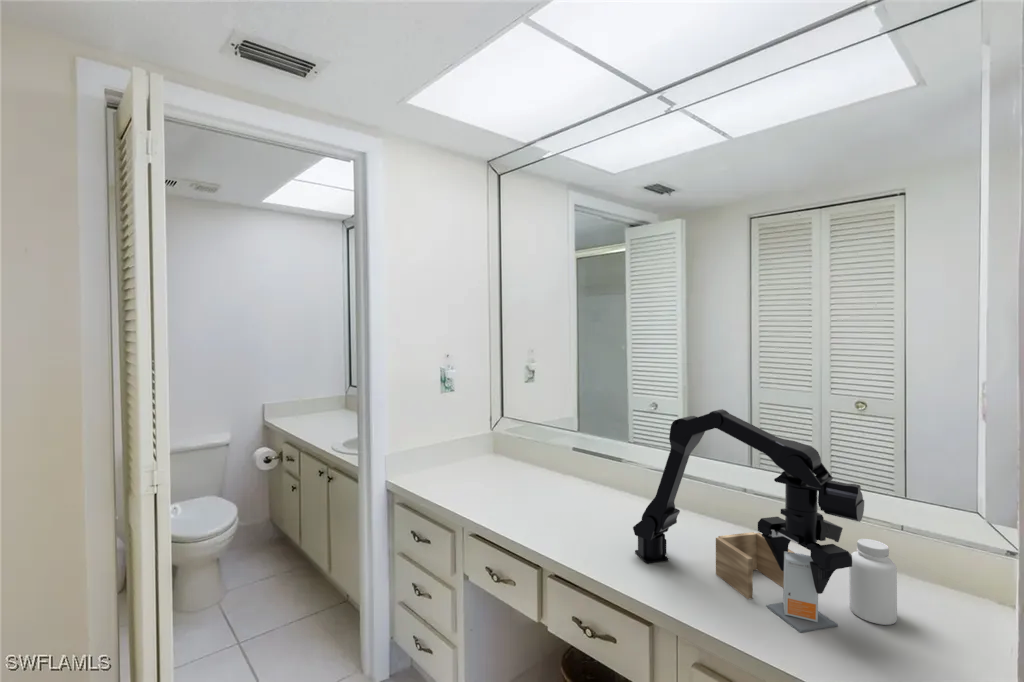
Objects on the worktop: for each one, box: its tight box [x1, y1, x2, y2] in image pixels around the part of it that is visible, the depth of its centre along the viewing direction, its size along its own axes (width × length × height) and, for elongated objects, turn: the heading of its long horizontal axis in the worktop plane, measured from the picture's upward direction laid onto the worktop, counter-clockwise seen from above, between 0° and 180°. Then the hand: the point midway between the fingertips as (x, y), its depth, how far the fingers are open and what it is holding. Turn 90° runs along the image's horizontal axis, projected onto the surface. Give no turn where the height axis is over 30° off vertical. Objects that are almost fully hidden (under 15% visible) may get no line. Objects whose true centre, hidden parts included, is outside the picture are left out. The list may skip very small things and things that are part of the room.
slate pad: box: [765, 602, 838, 633], centre depth 99 cm, size 9×9×1 cm
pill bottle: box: [848, 538, 898, 626], centre depth 99 cm, size 8×8×15 cm
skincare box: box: [782, 551, 819, 622], centre depth 99 cm, size 6×4×12 cm
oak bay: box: [715, 531, 795, 600], centre depth 112 cm, size 12×12×9 cm
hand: (800, 581), depth 99 cm, fingers open, 9 cm apart
